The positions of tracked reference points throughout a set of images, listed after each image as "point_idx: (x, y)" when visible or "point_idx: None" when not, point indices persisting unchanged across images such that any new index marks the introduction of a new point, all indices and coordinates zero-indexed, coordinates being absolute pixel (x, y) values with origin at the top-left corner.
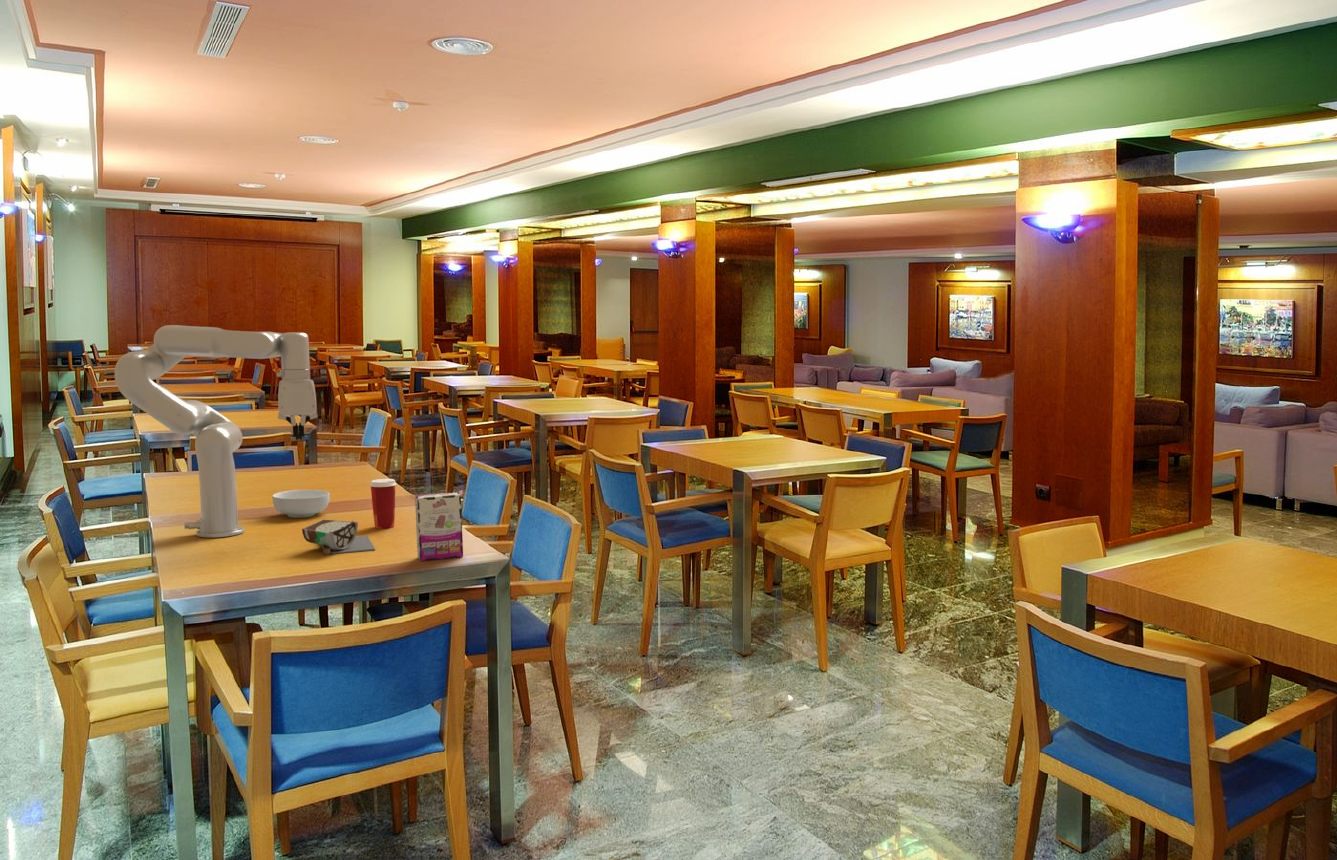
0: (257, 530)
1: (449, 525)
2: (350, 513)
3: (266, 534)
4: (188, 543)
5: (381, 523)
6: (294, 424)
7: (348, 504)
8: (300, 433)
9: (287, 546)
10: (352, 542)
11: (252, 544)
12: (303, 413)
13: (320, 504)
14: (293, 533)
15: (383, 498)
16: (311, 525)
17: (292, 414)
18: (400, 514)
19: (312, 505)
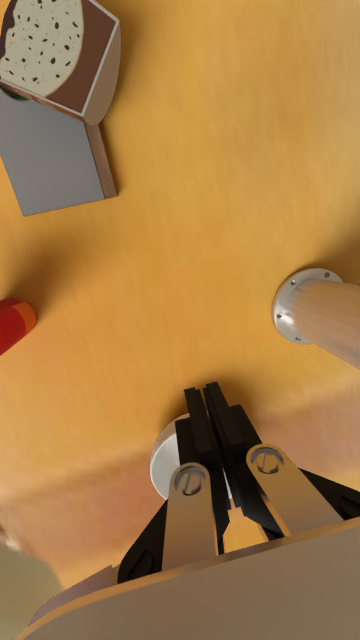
0: (251, 324)
1: None
2: (116, 445)
3: (230, 286)
4: (350, 232)
5: (11, 300)
6: (260, 458)
7: (136, 513)
8: (196, 407)
9: (173, 156)
10: (37, 144)
11: (242, 195)
12: (182, 586)
13: (161, 433)
14: (184, 286)
15: None
16: (102, 59)
17: (350, 526)
18: (18, 428)
19: (174, 422)
